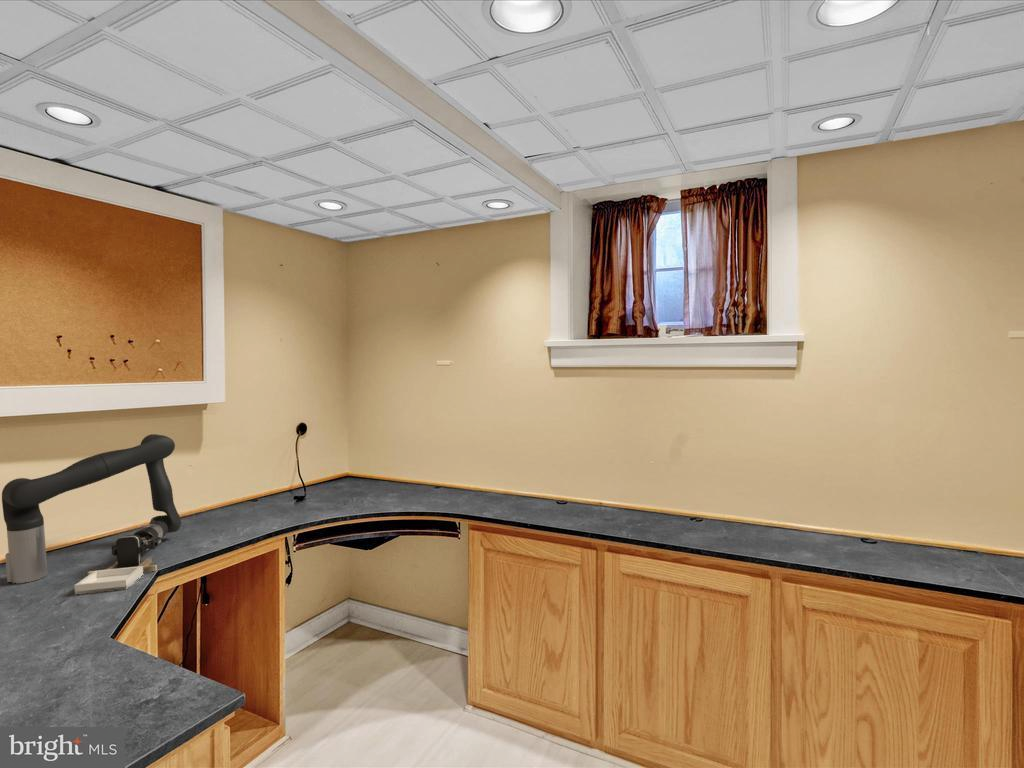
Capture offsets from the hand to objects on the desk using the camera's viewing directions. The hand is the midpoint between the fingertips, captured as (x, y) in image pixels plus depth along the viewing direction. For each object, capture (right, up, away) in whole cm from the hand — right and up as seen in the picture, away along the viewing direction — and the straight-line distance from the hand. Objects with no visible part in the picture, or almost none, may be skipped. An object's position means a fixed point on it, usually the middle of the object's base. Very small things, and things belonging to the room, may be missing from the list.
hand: (126, 551), depth 187 cm
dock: (0, -6, +1) cm, 7 cm away
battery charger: (0, -7, +2) cm, 7 cm away
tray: (+3, -7, -11) cm, 13 cm away
